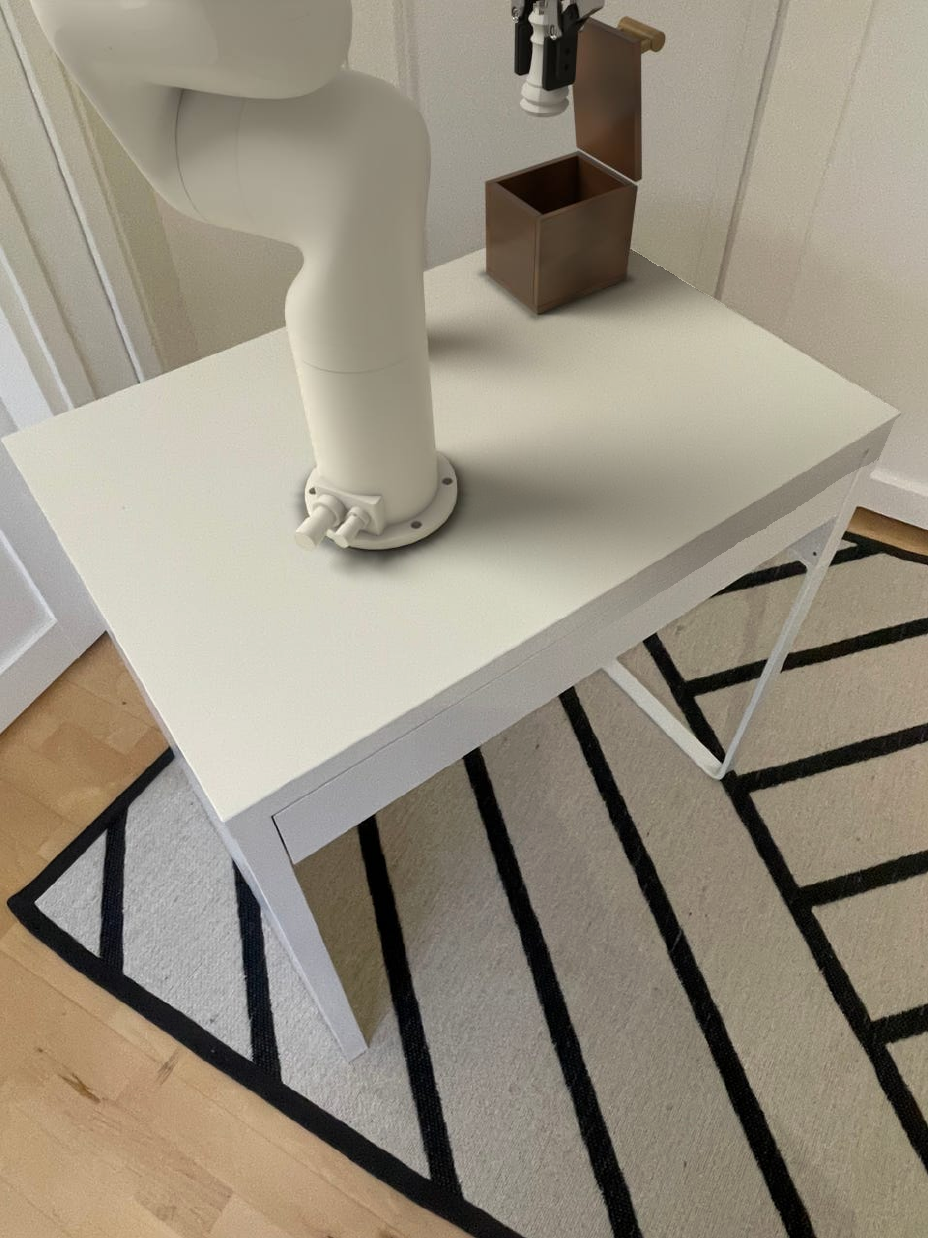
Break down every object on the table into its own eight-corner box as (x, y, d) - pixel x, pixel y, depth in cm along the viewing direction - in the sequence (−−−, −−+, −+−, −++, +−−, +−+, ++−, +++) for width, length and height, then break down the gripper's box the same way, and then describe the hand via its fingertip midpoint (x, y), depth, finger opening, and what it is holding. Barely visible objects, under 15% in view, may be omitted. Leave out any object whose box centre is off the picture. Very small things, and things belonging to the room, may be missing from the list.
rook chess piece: (562, 121, 76) (567, 15, 69) (513, 115, 77) (514, 11, 70) (574, 100, 78) (581, -3, 72) (527, 96, 79) (529, -7, 73)
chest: (537, 314, 87) (540, 220, 80) (485, 273, 92) (484, 181, 85) (626, 279, 91) (638, 185, 83) (572, 241, 96) (579, 150, 88)
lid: (634, 43, 73) (684, 16, 73) (566, 12, 78) (614, -13, 79) (635, 182, 83) (679, 157, 84) (576, 147, 88) (618, 124, 89)
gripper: (450, -215, 64) (459, 60, 79) (583, -182, 56) (565, 122, 70) (531, -228, 67) (526, 41, 81) (672, -198, 58) (637, 99, 72)
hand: (544, 76), depth 75 cm, fingers closed on rook chess piece, 3 cm apart
